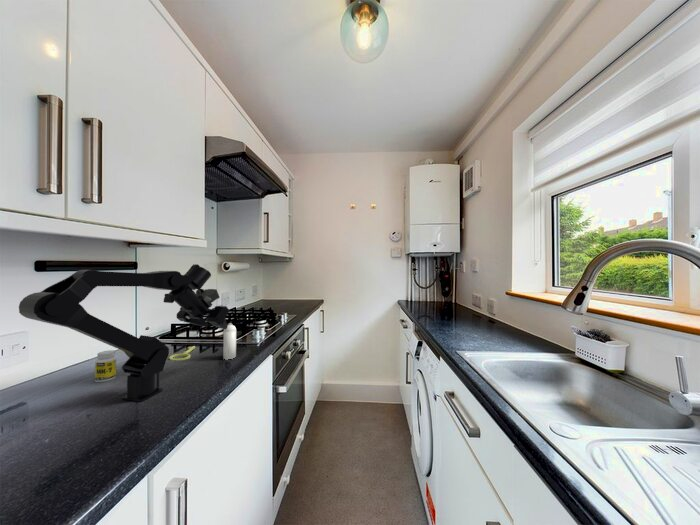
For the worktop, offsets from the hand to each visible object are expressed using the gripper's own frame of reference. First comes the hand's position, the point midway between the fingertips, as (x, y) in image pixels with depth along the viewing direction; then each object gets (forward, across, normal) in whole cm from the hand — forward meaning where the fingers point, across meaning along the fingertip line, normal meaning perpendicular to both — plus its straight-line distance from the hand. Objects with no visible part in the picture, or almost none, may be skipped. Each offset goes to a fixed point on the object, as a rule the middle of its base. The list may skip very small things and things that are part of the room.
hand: (216, 326), depth 93 cm
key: (+12, +19, +8) cm, 24 cm away
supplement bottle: (-6, +22, +25) cm, 34 cm away
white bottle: (+14, 0, +5) cm, 15 cm away
